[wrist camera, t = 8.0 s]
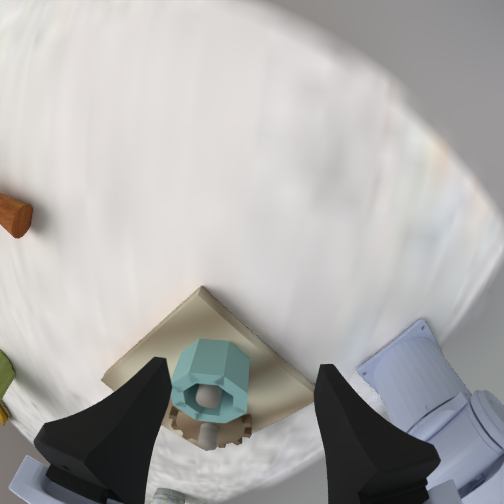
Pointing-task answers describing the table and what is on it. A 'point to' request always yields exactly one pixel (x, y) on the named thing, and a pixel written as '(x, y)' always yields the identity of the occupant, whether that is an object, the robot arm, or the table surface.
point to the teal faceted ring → (211, 380)
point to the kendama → (15, 216)
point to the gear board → (219, 326)
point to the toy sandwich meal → (4, 413)
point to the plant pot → (5, 374)
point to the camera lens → (167, 497)
